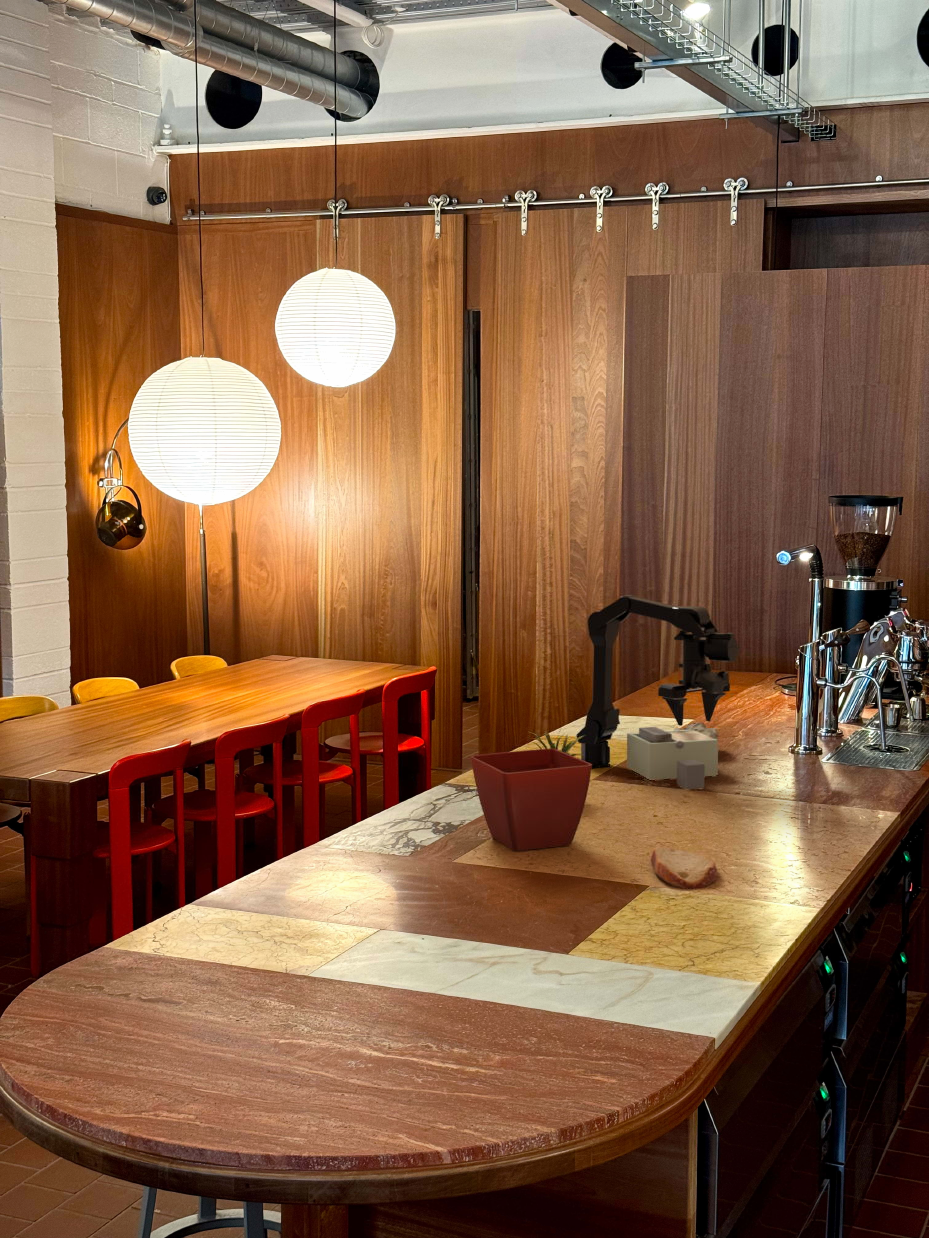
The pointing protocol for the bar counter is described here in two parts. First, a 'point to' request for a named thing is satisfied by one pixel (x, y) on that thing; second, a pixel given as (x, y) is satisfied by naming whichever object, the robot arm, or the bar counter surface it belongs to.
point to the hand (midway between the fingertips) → (694, 723)
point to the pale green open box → (669, 756)
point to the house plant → (552, 745)
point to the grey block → (690, 774)
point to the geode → (701, 729)
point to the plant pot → (532, 796)
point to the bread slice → (683, 868)
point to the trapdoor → (669, 735)
